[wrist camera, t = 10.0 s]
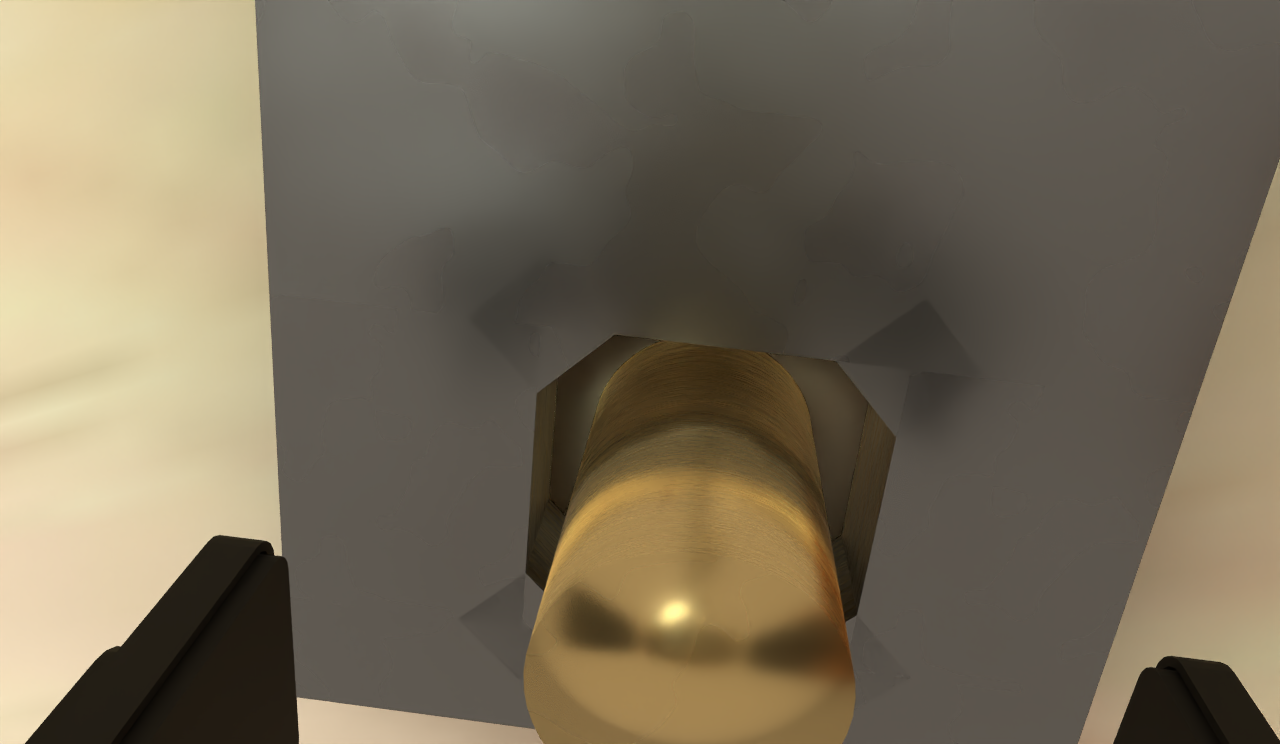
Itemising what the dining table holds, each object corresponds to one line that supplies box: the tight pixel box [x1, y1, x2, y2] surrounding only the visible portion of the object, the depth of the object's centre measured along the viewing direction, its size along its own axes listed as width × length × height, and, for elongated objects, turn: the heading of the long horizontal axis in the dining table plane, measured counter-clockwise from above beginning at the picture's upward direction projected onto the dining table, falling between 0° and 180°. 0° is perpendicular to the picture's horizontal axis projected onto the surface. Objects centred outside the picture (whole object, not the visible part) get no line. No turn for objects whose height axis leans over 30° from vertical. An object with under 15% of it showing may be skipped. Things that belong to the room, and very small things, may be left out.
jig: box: [255, 0, 1280, 744], centre depth 16 cm, size 20×14×2 cm
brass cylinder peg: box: [523, 340, 856, 744], centre depth 15 cm, size 4×4×7 cm
